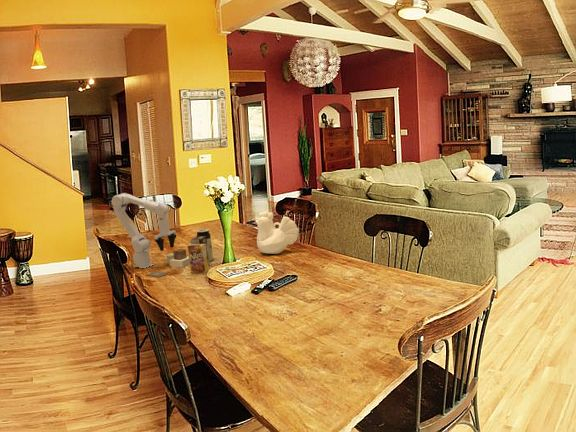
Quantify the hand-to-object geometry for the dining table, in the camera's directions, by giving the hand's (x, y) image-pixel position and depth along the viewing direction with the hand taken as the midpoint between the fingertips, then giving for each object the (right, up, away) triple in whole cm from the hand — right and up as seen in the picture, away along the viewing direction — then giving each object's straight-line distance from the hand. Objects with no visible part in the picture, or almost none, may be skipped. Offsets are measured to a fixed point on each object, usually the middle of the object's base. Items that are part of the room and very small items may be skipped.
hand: (167, 249), depth 308 cm
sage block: (+2, -9, +8) cm, 12 cm away
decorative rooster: (+63, -3, +8) cm, 64 cm away
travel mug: (+21, -7, +6) cm, 23 cm away
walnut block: (+7, -6, +1) cm, 9 cm away
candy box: (+21, -11, -18) cm, 30 cm away
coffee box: (+21, -9, -5) cm, 23 cm away
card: (-2, -13, -16) cm, 20 cm away
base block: (+8, -10, +1) cm, 12 cm away
